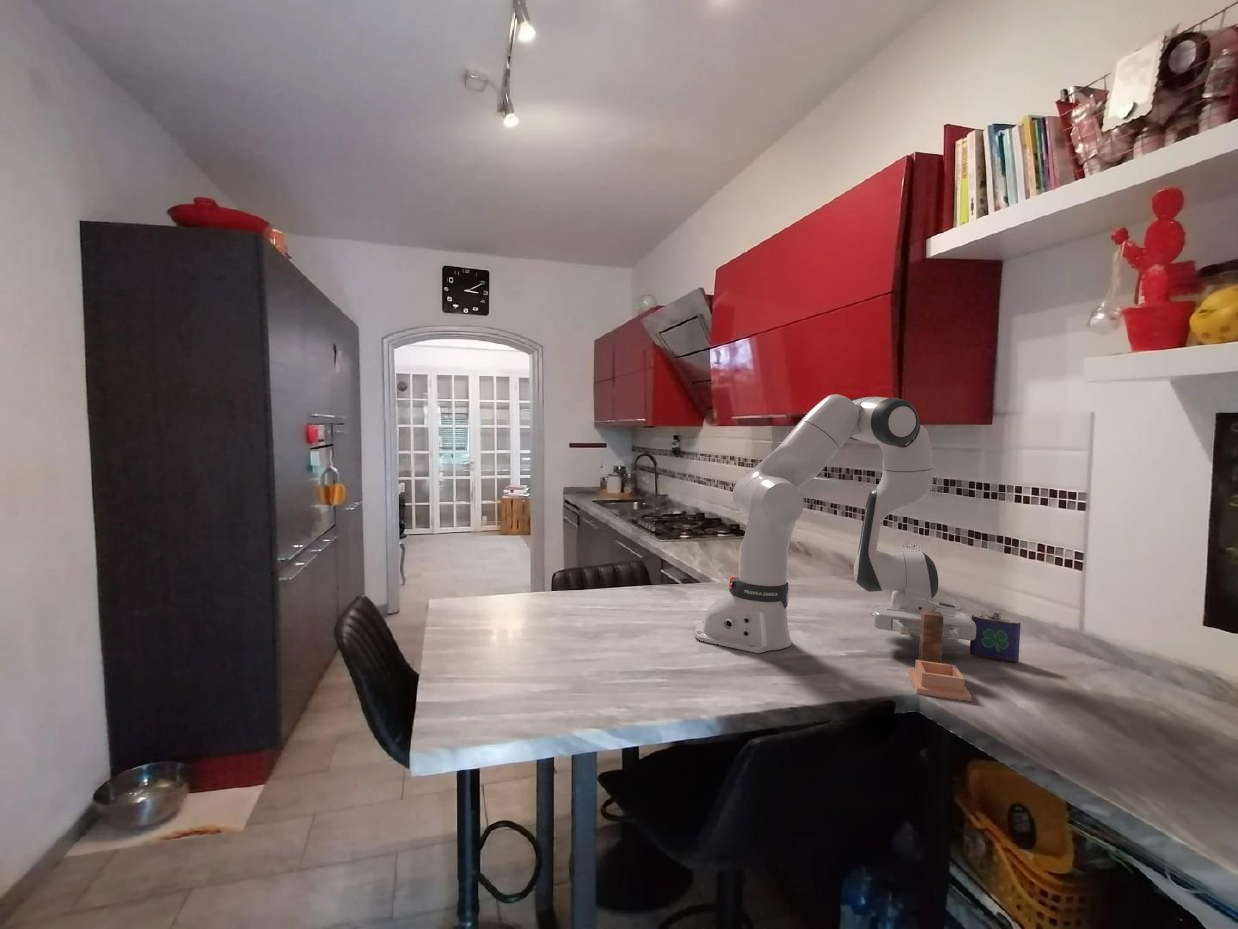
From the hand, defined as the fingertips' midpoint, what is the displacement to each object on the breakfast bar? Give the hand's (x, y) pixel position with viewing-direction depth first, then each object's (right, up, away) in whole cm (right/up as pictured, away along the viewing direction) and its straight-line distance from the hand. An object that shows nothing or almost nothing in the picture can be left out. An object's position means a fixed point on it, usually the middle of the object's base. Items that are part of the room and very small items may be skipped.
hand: (928, 634), depth 120 cm
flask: (+18, -7, +6) cm, 20 cm away
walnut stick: (-1, -7, -1) cm, 7 cm away
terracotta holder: (-4, -7, -10) cm, 13 cm away
